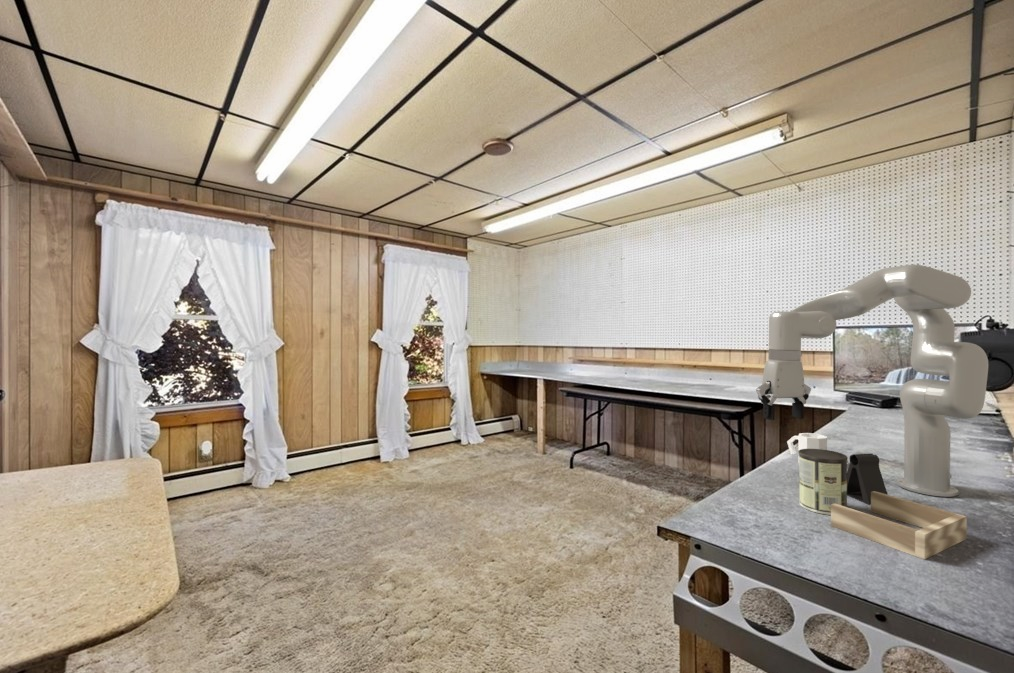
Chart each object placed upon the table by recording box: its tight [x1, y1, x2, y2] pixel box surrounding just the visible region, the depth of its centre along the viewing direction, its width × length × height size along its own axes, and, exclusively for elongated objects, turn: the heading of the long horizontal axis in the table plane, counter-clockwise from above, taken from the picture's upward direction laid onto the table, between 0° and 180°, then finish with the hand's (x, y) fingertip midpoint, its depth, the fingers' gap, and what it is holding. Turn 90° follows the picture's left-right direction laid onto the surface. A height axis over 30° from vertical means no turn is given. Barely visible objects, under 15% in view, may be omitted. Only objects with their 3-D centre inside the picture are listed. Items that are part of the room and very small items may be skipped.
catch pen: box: [830, 491, 968, 560], centre depth 99 cm, size 19×17×5 cm
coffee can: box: [797, 449, 848, 516], centre depth 113 cm, size 10×10×14 cm
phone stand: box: [847, 453, 889, 506], centre depth 119 cm, size 9×6×12 cm, turn 5°
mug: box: [786, 432, 828, 465], centre depth 150 cm, size 12×9×10 cm
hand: (783, 418), depth 120 cm, fingers open, 9 cm apart
